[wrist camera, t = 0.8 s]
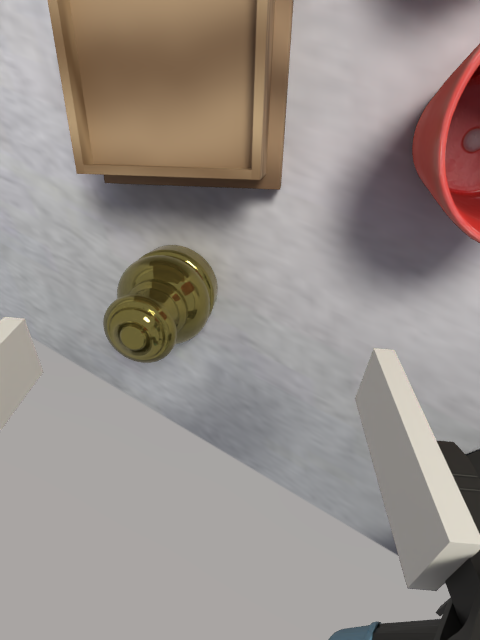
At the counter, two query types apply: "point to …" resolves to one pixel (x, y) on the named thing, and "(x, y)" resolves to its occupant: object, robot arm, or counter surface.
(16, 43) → the counter surface
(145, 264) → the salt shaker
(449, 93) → the flower pot
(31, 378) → the robot arm
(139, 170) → the brown wooden square box
